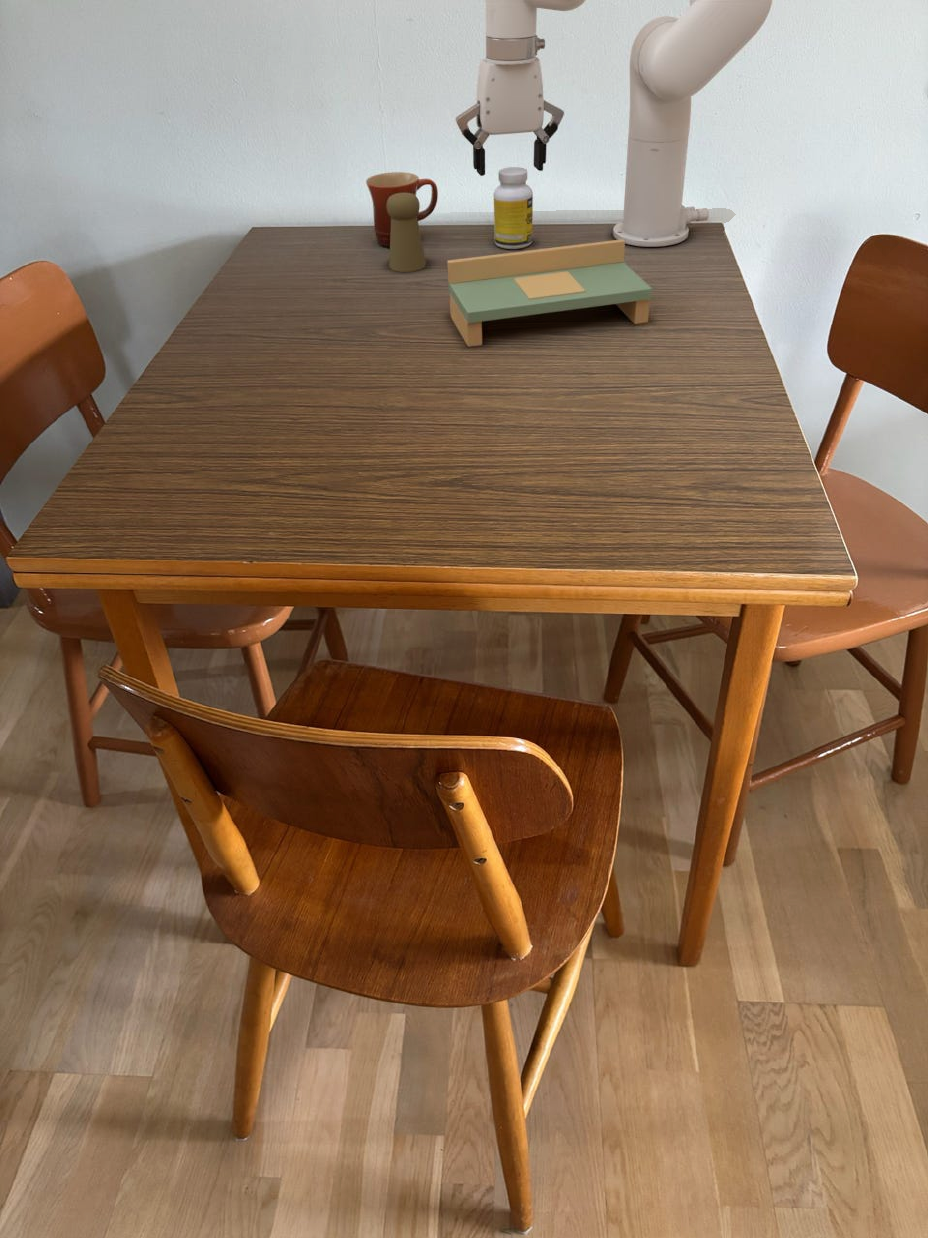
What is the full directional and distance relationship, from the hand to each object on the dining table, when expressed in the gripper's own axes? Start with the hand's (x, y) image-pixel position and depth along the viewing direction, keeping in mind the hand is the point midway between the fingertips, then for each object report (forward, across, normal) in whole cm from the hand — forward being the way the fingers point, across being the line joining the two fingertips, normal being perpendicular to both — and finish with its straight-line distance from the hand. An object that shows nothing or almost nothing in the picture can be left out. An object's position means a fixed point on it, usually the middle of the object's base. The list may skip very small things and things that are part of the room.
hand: (509, 170), depth 155 cm
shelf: (+12, +3, +33) cm, 35 cm away
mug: (+12, +16, -8) cm, 22 cm away
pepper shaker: (+12, +18, +4) cm, 22 cm away
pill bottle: (+12, -1, 0) cm, 12 cm away
